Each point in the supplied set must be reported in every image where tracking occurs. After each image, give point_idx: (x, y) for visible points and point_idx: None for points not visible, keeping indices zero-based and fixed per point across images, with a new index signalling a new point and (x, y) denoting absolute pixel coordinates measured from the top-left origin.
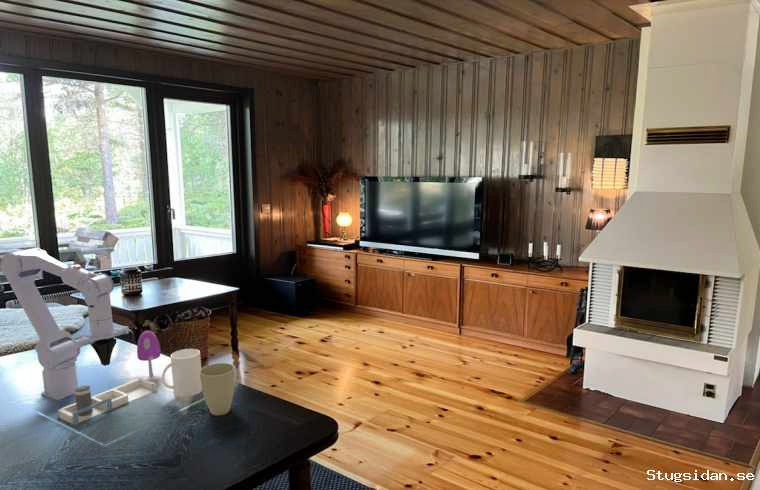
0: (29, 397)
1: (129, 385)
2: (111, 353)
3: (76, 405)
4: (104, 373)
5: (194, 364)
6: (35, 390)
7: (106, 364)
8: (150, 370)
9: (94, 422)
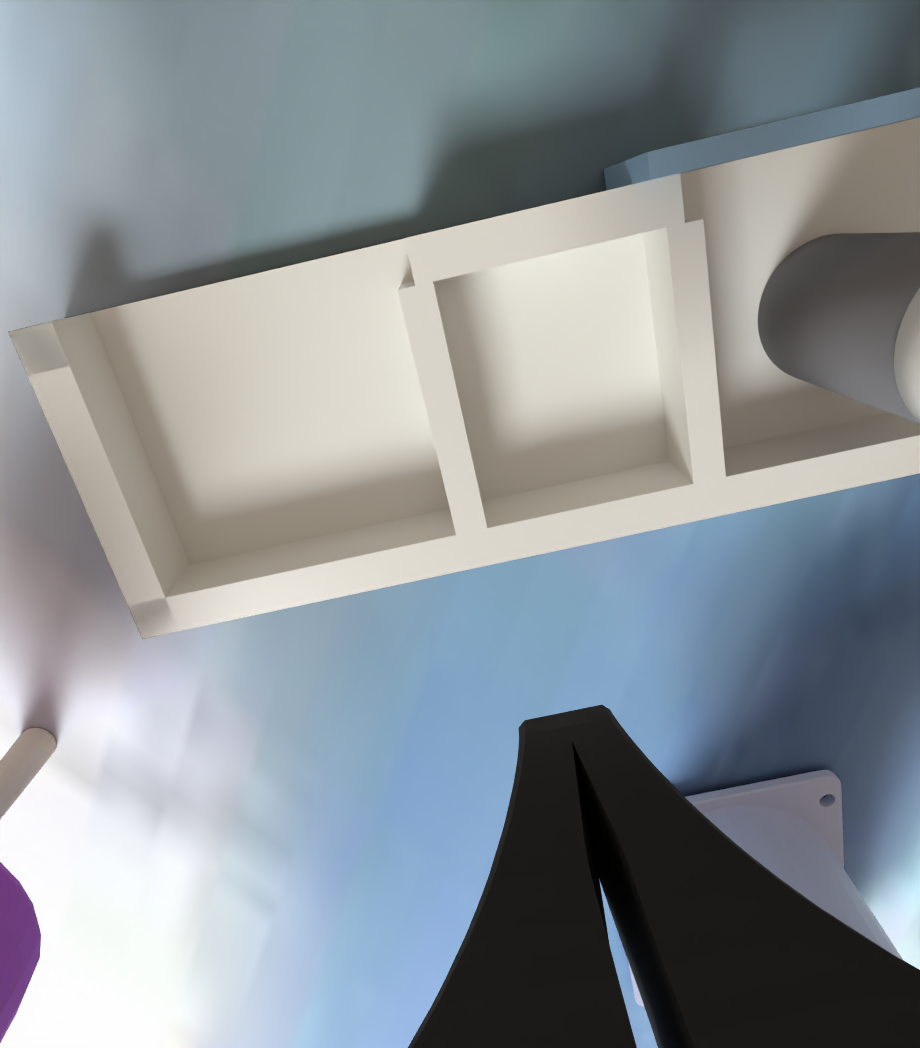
0: (908, 958)
1: (291, 561)
2: (500, 866)
3: None
4: (361, 1025)
5: None
6: None
7: (589, 714)
8: (5, 777)
9: (846, 28)
